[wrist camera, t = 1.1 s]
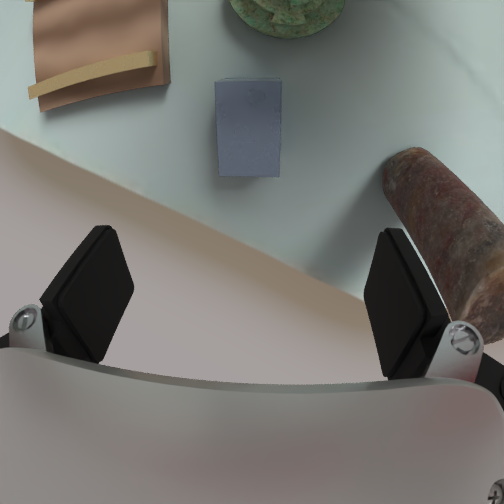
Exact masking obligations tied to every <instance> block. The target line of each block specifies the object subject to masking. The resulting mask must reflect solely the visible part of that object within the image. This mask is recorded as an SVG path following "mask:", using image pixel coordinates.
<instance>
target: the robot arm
mask: <svg viewBox="0 0 504 504" xmlns="http://www.w3.org/2000/svg"><path fill="white" fill-rule="evenodd" d="M133 292H134V284H133V281H132V278H131V275H130V272H129V269H128V267H127V264H126V261H125V258H124V255H123V252H122V248H121V245H120V242H119V239H118V236H117V233H116V231H115V230H114V229H112V227H111V226H109V225H102V226H101V225H100V226H95V227H94V228H93V229H92V231H91V232H90V233H89V234H88V235H87V237H86V238H85V239H84V240H83V241H82V243H81V244H80V245H79V246H78V248H77V249H76V250H75V251H74V253H73V254H72V255H71V256H70V258H69V259H68V260H67V262H66V263H65V264H64V266H63V267H62V268H61V270H60V271H59V272H58V274H57V275H56V276H55V278H54V279H53V281H52V282H51V284H50V285H49V286H48V288H47V289H46V291H45V292H44V293H43V295H42V296H41V298H40V299H39V300H40V302H41V303H42V305H43V307H42V309H40V308H39V307H38V306H37V305H34V304H31V305H27V306H24V307H22V308H21V309H19V310H18V311H17V312H16V313H15V314H14V316H13V317H12V319H11V321H10V325H9V333H7V334H6V335H4V336H2V337H0V504H504V365H502V364H501V363H499V362H497V361H496V360H494V359H493V358H491V357H490V356H488V355H487V354H485V353H484V352H483V350H484V342H483V338H482V336H481V334H480V333H479V331H478V330H477V329H476V328H475V327H474V326H472V325H471V324H470V323H467V322H465V321H453V322H451V321H450V319H449V317H448V313H447V311H446V308H445V306H444V304H443V302H442V300H441V298H440V296H439V294H438V292H437V290H436V288H435V286H434V284H433V282H432V280H431V279H430V277H429V275H428V273H427V271H426V269H425V267H424V266H423V264H422V262H421V260H420V258H419V257H418V255H417V253H416V251H415V250H414V248H413V246H412V245H411V243H410V241H409V239H408V238H407V236H406V235H405V233H404V231H403V230H402V229H400V228H386V229H385V230H384V232H380V234H379V236H378V240H377V245H376V249H375V253H374V256H373V260H372V264H371V268H370V271H369V275H368V278H367V282H366V285H365V289H364V301H365V305H366V308H367V311H368V316H369V319H370V323H371V327H372V331H373V335H374V339H375V343H376V347H377V351H378V355H379V360H380V365H381V369H382V373H383V376H384V377H388V381H376V382H362V383H342V384H315V385H277V384H276V385H275V384H248V383H230V382H217V381H206V380H195V379H187V378H178V377H170V376H163V375H156V374H149V373H143V372H137V371H131V370H126V369H120V368H115V367H110V366H105V365H100V364H99V362H100V361H102V360H103V359H104V356H105V354H106V351H107V349H108V347H109V344H110V342H111V340H112V338H113V335H114V333H115V331H116V329H117V326H118V324H119V322H120V320H121V317H122V316H123V313H124V311H125V309H126V307H127V305H128V303H129V300H130V298H131V296H132V294H133Z"/></svg>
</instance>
